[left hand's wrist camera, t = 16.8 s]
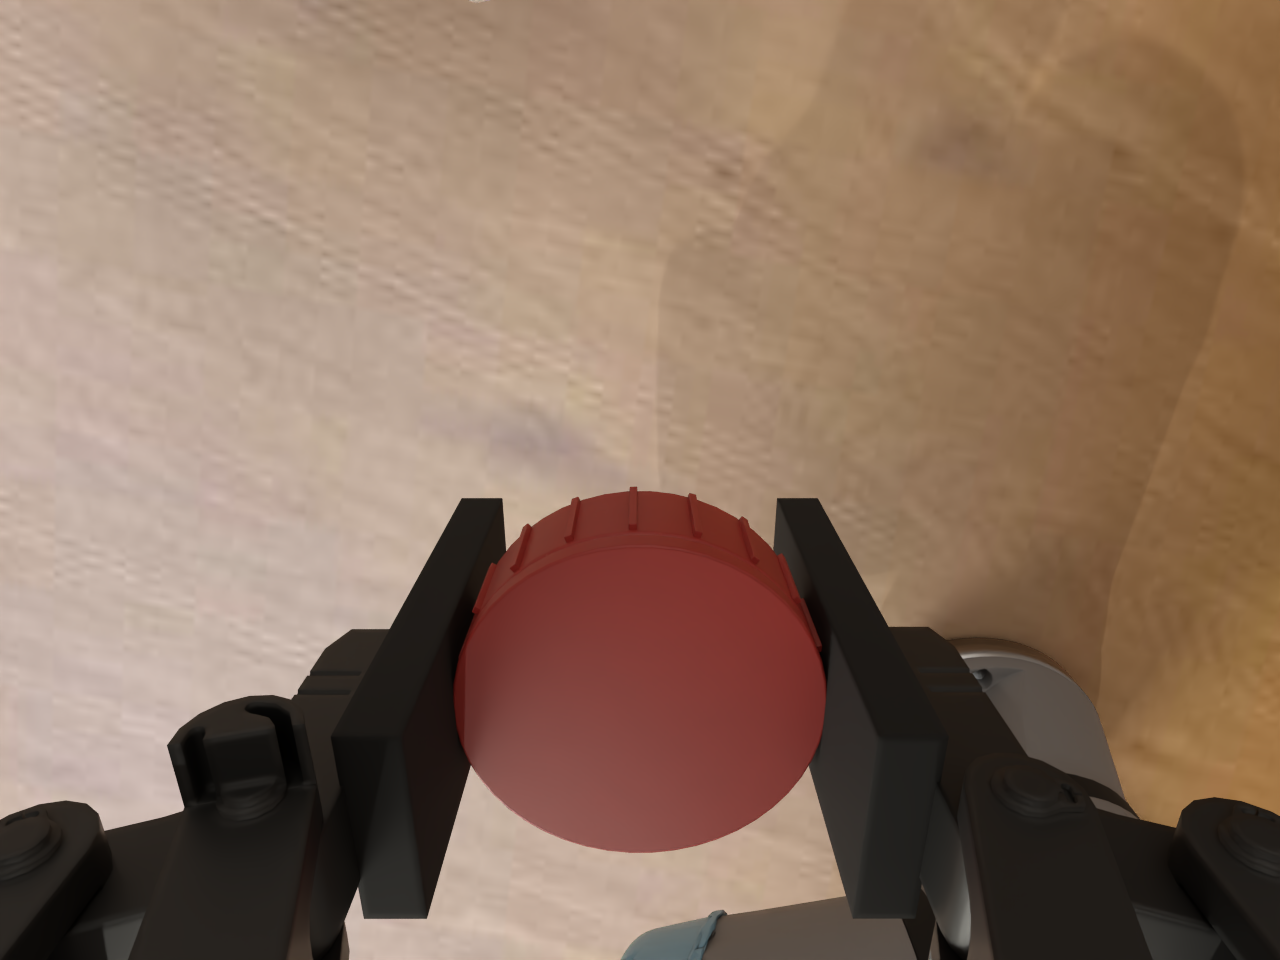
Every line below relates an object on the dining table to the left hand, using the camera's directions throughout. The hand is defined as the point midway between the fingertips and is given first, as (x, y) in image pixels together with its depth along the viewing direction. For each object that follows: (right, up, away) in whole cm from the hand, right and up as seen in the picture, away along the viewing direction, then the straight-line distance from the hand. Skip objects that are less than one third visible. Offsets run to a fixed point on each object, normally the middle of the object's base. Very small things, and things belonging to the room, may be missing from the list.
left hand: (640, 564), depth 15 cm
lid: (0, -2, -4) cm, 4 cm away
